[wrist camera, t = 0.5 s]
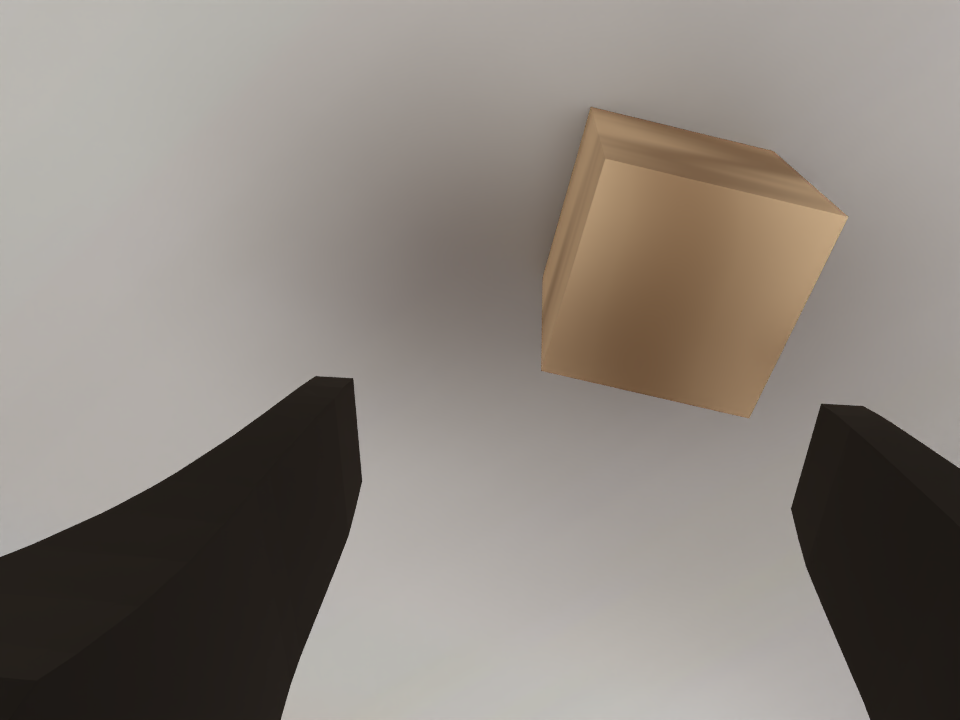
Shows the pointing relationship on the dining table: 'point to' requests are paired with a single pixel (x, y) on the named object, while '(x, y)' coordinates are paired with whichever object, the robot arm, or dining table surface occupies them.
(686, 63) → the dining table surface
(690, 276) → the oak block
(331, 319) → the dining table surface
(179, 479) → the robot arm
